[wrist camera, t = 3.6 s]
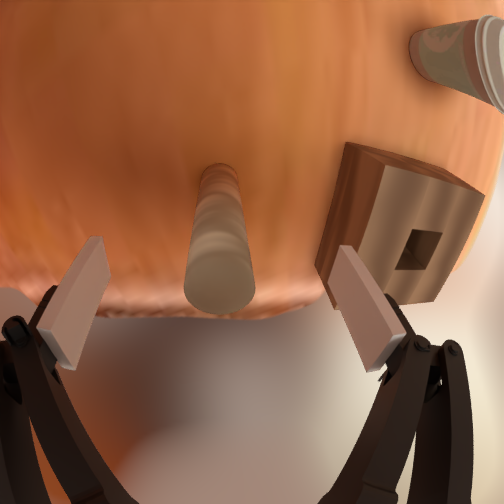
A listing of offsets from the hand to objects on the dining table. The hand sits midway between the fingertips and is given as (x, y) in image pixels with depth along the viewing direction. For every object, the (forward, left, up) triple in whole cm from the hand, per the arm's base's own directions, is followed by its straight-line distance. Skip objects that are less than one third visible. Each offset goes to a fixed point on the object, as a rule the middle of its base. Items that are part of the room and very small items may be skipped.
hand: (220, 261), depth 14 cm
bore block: (+18, -2, -11) cm, 21 cm away
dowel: (0, 0, -11) cm, 11 cm away
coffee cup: (+19, +17, -12) cm, 28 cm away
